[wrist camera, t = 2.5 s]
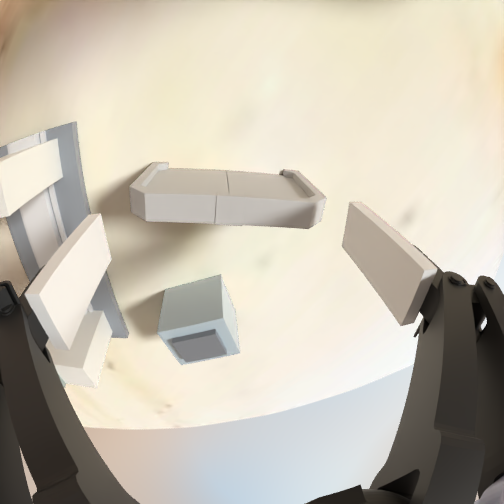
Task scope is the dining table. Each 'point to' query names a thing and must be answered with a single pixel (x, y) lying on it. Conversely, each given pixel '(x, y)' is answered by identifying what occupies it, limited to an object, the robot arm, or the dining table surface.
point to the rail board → (58, 218)
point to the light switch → (226, 197)
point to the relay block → (199, 321)
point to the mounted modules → (93, 323)
